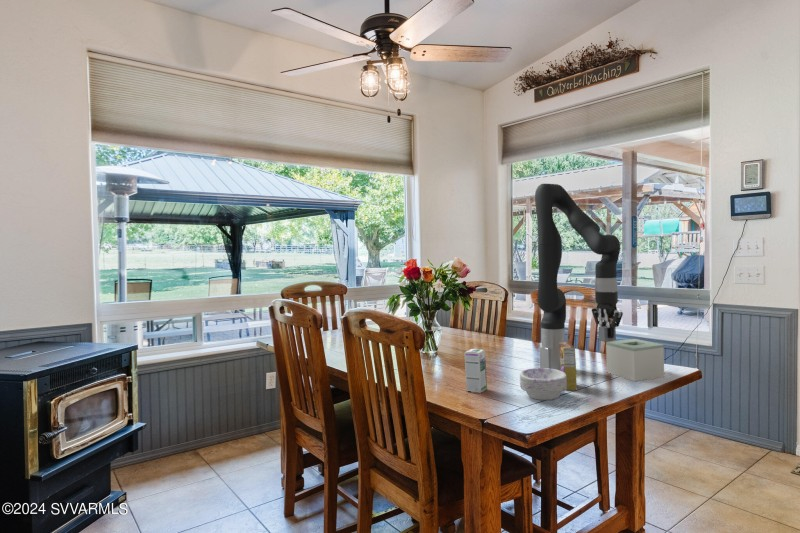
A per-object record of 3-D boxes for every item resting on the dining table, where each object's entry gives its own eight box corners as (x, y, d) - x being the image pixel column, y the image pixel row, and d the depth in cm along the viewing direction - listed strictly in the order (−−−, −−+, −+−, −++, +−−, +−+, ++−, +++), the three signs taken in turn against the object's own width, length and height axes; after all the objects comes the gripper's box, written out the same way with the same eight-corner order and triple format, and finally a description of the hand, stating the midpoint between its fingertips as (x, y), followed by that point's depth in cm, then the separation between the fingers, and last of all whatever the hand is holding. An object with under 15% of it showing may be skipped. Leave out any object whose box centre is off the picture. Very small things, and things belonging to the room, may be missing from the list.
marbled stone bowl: (540, 406, 154) (539, 381, 154) (511, 394, 168) (510, 371, 168) (577, 398, 160) (576, 374, 160) (546, 387, 174) (545, 365, 174)
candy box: (560, 383, 178) (558, 342, 177) (572, 383, 177) (571, 342, 177) (564, 390, 169) (562, 347, 169) (577, 390, 168) (575, 347, 168)
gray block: (604, 341, 174) (604, 328, 173) (598, 340, 176) (598, 326, 176) (615, 340, 175) (615, 326, 175) (609, 338, 178) (609, 325, 178)
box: (634, 381, 176) (633, 348, 176) (606, 372, 190) (606, 342, 189) (664, 376, 181) (663, 344, 180) (635, 368, 194) (634, 338, 194)
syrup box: (481, 393, 170) (479, 352, 169) (465, 391, 173) (464, 351, 172) (487, 389, 175) (485, 349, 174) (472, 387, 178) (470, 348, 177)
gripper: (584, 289, 180) (585, 335, 181) (612, 292, 167) (612, 341, 168) (600, 288, 183) (601, 333, 184) (629, 290, 170) (630, 339, 170)
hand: (607, 337), depth 176 cm, fingers closed on gray block, 2 cm apart
